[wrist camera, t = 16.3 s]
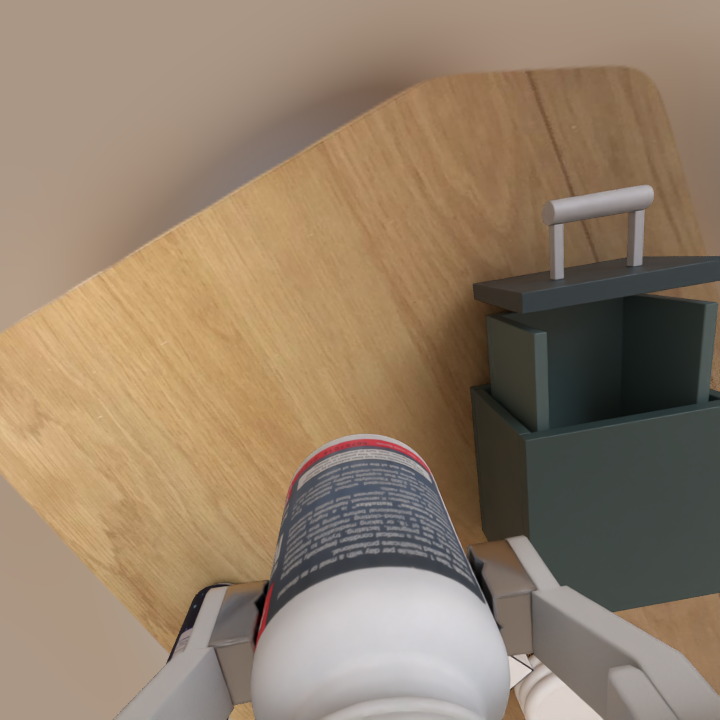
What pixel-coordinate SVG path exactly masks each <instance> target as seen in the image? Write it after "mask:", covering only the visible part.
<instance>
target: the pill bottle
mask: <svg viewBox="0 0 720 720" xmlns="http://www.w3.org/2000/svg"><path fill="white" fill-rule="evenodd" d="M510 678H511V677H510V667H509V660H508V655H507V651H506V648H505V645H504V642H503V639H502V637H501V634H500V632H499V629H498V627H497V624H496V622H495V620H494V617H493V615H492V613H491V611H490V609H489V606H488V604H487V602H486V600H485V597H484V595H483V593H482V591H481V589H480V586H479V584H478V582H477V580H476V577H475V575H474V573H473V571H472V568H471V566H470V564H469V562H468V559H467V557H466V555H465V553H464V550H463V548H462V546H461V543H460V541H459V539H458V536H457V534H456V532H455V529H454V526H453V524H452V522H451V519H450V517H449V514H448V512H447V509H446V507H445V504H444V502H443V499H442V497H441V494H440V492H439V489H438V487H437V484H436V482H435V479H434V477H433V475H432V473H431V471H430V469H429V468H428V466H427V464H426V463H425V462H424V460H423V459H422V458H421V457H420V456H419V455H418V454H417V453H416V452H415V451H414V450H413V449H411V448H410V447H409V446H407V445H405V444H404V443H402V442H400V441H398V440H395V439H393V438H390V437H386V436H382V435H376V434H355V435H348V436H344V437H341V438H337V439H335V440H332V441H330V442H328V443H326V444H324V445H322V446H321V447H319V448H318V449H316V450H315V451H314V452H312V453H311V454H310V455H309V456H308V457H307V458H306V459H305V460H304V461H303V462H302V464H301V465H300V466H299V468H298V469H297V471H296V472H295V474H294V476H293V478H292V480H291V483H290V486H289V490H288V494H287V497H286V502H285V508H284V513H283V517H282V523H281V528H280V532H279V538H278V542H277V547H276V552H275V556H274V561H273V567H272V572H271V576H270V582H269V586H268V590H267V595H266V599H265V604H264V609H263V614H262V618H261V623H260V627H259V632H258V637H257V642H256V647H255V652H254V660H253V667H252V676H251V701H252V708H253V712H254V716H255V720H502V719H503V717H504V714H505V711H506V707H507V704H508V699H509V694H510Z"/></svg>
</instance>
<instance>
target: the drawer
mask: <svg viewBox="0 0 720 720" xmlns="http://www.w3.org/2000/svg"><path fill="white" fill-rule="evenodd" d="M653 198H654V191H653V189H652V187H651V186H649V185H641V186H635V187H629V188H623V189H617V190H611V191H605V192H599V193H593V194H587V195H581V196H575V197H569V198H563V199H557V200H551V201H547V202H546V203H545V204H544V206H543V210H542V218H543V222H544V223H545V224H546V225H548V226H549V225H550V226H549V244H550V271H545V272H539V273H533V274H528V275H522V276H516V277H510V278H504V279H498V280H492V281H486V282H481V283H475V284H473V292H474V299H475V300H478V301H481V302H485V303H488V304H491V305H494V306H498V307H501V308H504V309H507V310H511V311H509V312H503V313H497V314H492V315H487V316H486V324H487V338H488V352H489V367H490V381H491V395H492V398H493V399H494V400H496V401H497V402H498V403H499V404H500V405H501V406H502V407H503V408H504V409H506V410H507V411H508V412H509V413H510V414H511V415H512V416H513V417H514V418H515V419H517V420H518V421H519V422H520V423H521V424H522V425H523V426H524V427H525V428H527V429H528V430H529V431H530V432H531V433H533V432H539V431H545V430H550V429H556V428H562V427H567V426H573V425H579V424H584V423H590V422H596V421H601V420H607V419H613V418H619V417H624V416H630V415H636V414H641V413H647V412H653V411H658V410H664V409H670V408H675V407H681V406H687V405H693V404H698V403H704V402H708V400H709V390H710V380H711V370H712V360H713V350H714V340H715V330H716V320H717V310H718V303H717V302H709V301H701V300H692V299H684V298H675V297H667V296H659V295H650V294H644V293H650V292H656V291H662V290H667V289H673V288H679V287H685V286H691V285H697V284H702V283H708V282H714V281H720V256H668V257H643V234H644V209H646V208H648V207H649V206H650V205H651V203H652V201H653ZM626 212H629V214H628V245H627V258H622V259H616V260H610V261H604V262H598V263H592V264H586V265H581V266H575V267H569V268H564V245H563V224H562V223H567V222H573V221H579V220H585V219H591V218H597V217H603V216H609V215H615V214H621V213H626Z"/></svg>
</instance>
